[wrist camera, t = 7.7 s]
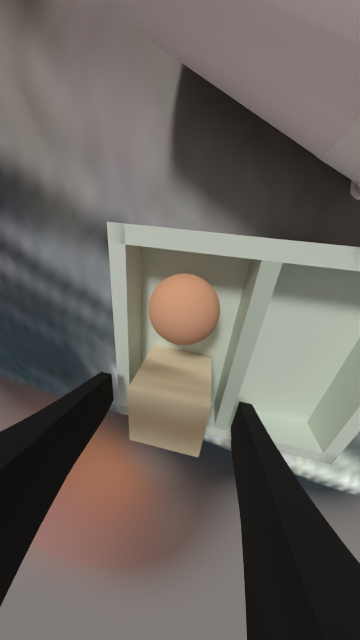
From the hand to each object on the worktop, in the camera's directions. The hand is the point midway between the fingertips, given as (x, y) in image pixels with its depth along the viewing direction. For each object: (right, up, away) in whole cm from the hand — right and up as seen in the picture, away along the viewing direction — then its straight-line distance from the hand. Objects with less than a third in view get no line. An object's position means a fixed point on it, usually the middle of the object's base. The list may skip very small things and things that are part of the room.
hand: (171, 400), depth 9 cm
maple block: (0, +1, +3) cm, 3 cm away
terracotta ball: (+1, +6, +1) cm, 6 cm away
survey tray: (+4, +3, +2) cm, 6 cm away
